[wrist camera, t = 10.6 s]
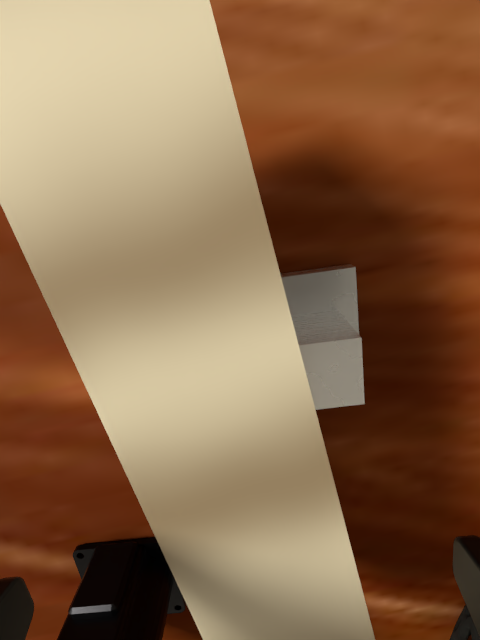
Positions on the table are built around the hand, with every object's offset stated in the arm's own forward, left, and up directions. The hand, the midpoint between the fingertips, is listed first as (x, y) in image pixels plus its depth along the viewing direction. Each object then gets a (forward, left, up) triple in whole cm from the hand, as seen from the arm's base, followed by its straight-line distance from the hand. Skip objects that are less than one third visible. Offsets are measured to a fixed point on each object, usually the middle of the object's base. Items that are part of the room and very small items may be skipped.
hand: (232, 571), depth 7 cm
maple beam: (0, 0, -8) cm, 8 cm away
